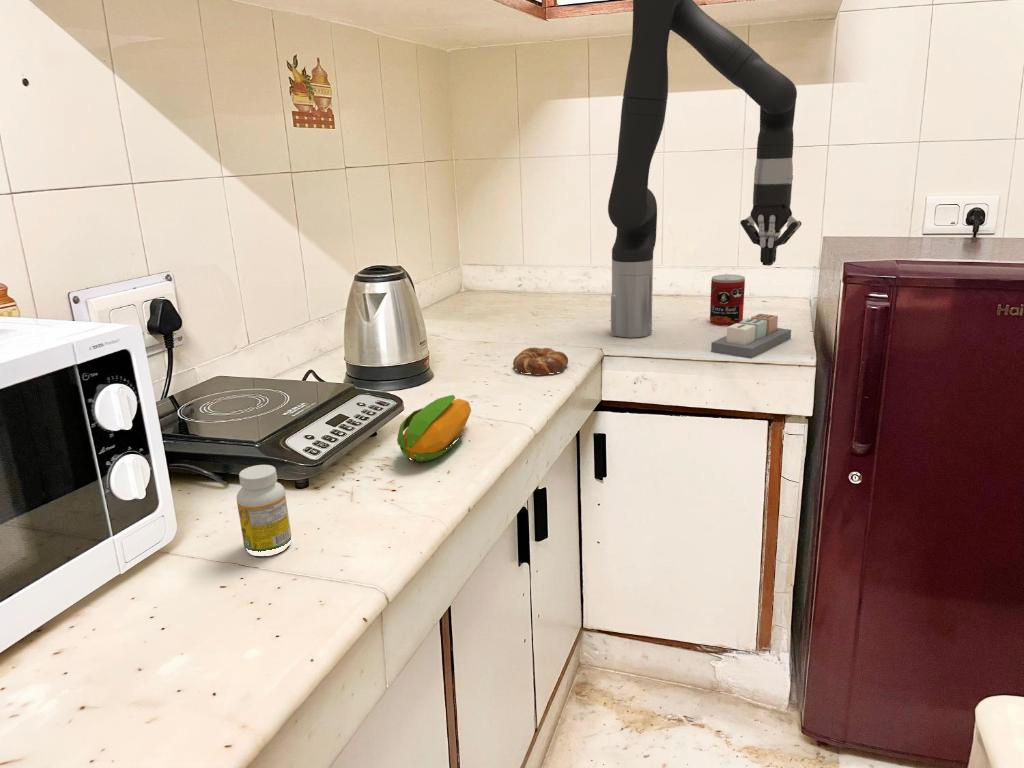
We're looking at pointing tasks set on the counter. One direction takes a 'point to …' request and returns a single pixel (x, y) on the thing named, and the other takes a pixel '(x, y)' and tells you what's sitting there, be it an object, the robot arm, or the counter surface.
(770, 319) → the slotted peach tile
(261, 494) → the supplement bottle
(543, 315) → the counter surface
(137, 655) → the counter surface
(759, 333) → the teal tile
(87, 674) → the counter surface
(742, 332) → the cream tile
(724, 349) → the frame
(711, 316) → the canned food
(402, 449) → the corn
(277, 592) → the counter surface
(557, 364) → the brown bread ring
